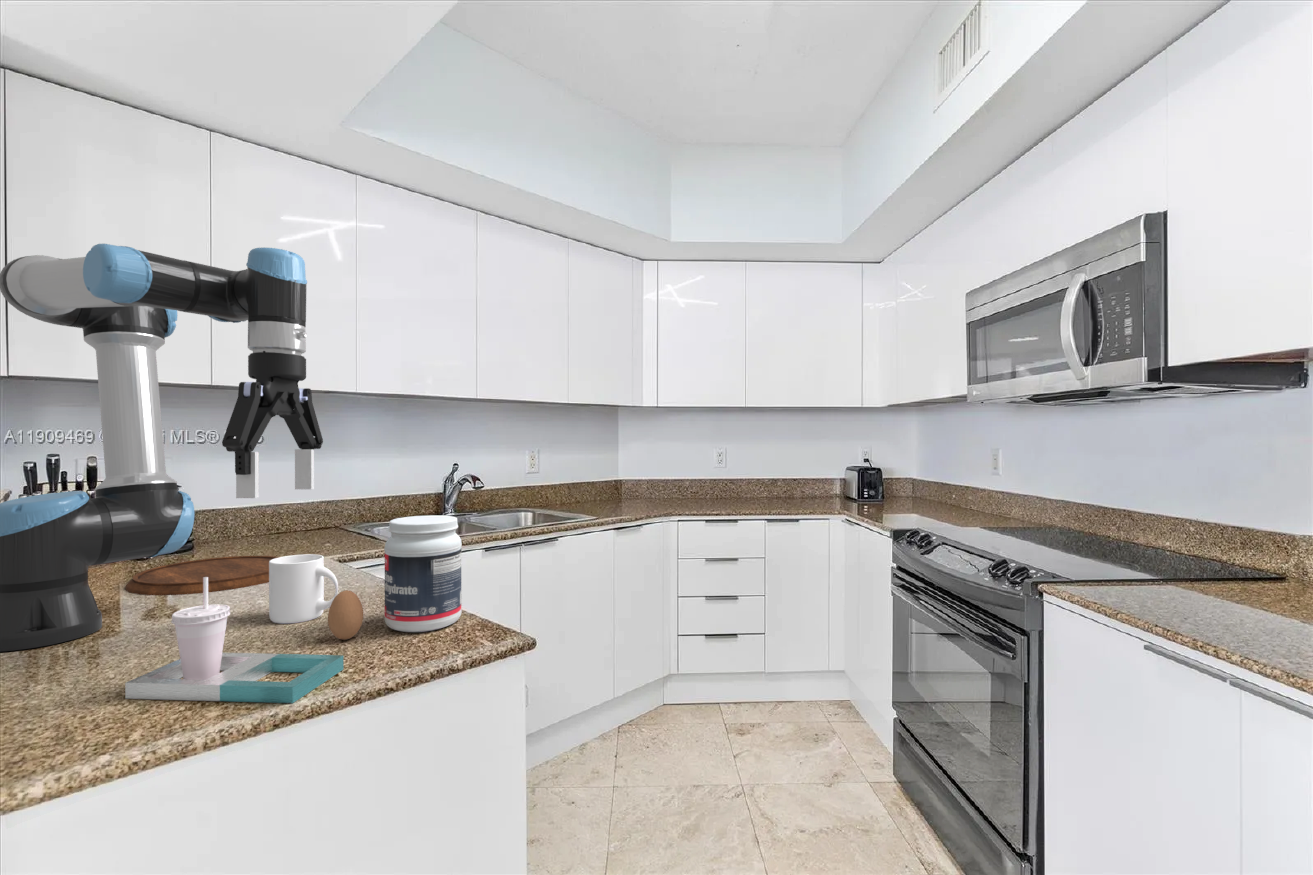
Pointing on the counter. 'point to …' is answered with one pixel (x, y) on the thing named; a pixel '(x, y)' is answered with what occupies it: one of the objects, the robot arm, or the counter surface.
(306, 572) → the mug
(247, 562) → the cutting board
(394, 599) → the supplement tub
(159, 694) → the rail
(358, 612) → the egg
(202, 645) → the smoothie
